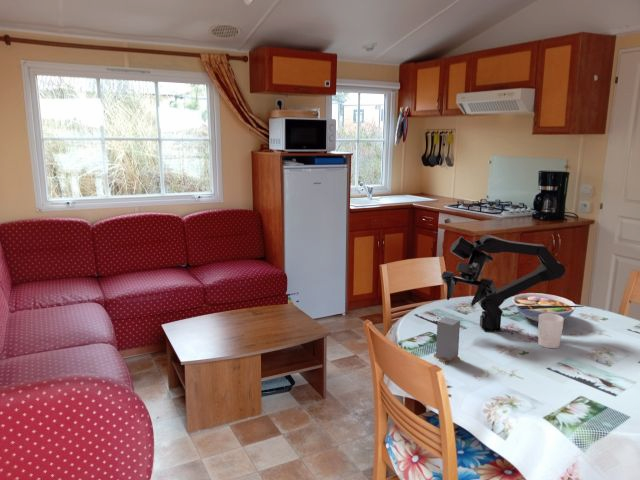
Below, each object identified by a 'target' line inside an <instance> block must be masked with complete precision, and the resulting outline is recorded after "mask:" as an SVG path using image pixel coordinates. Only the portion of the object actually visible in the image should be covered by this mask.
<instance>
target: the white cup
mask: <svg viewBox="0 0 640 480" xmlns="http://www.w3.org/2000/svg"><path fill="white" fill-rule="evenodd" d="M564 320H565V319H564V318H563V317H562V316H559V315H556V314H551V313H543V314H540V315H539V321H538V322H537V323H538V324H537V325H538V327H537V330H538V331H537V343H538V345H539V346H541V347H542V348H543V347H544V348H546V349H557V348H560V345H561V340H562V339H561V338H562V334H563V329H564Z"/></svg>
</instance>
